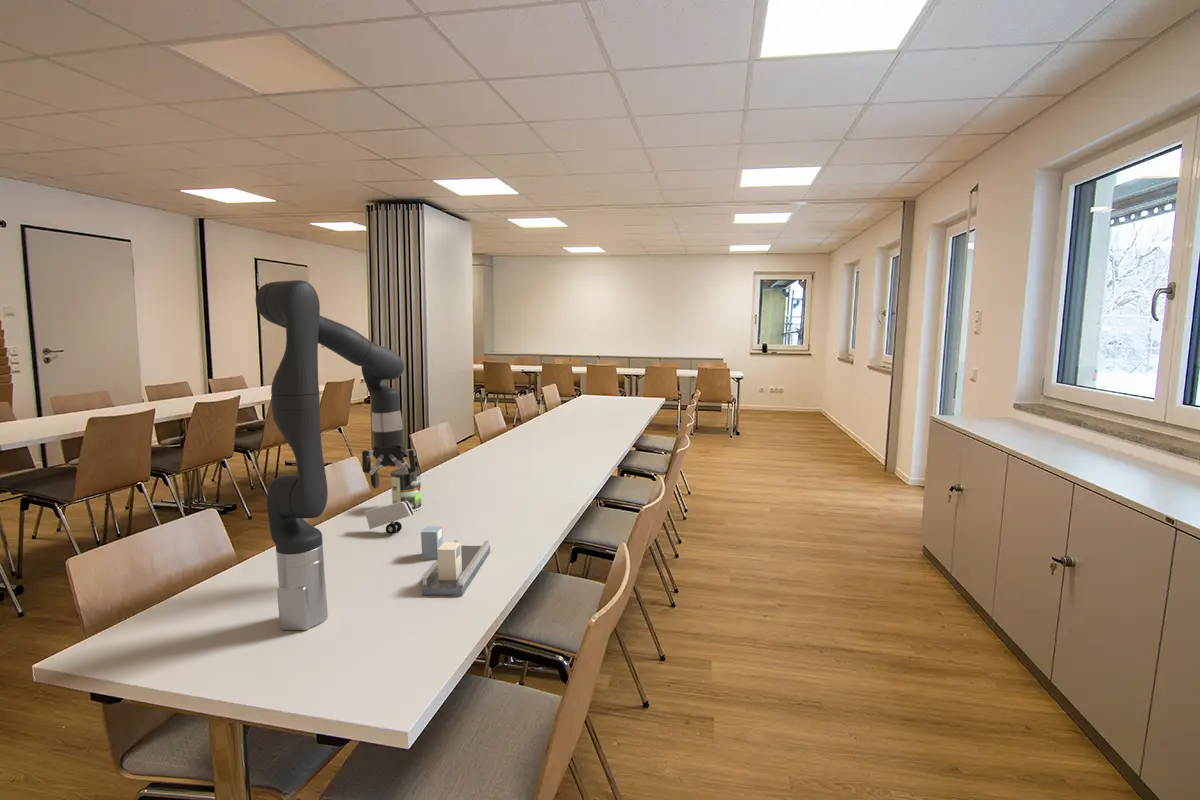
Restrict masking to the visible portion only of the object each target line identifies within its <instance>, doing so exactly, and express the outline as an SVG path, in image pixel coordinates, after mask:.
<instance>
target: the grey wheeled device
mask: <svg viewBox="0 0 1200 800" xmlns="http://www.w3.org/2000/svg"><path fill="white" fill-rule="evenodd" d="M364 514H365V518H366V520H367V521H366V522H367V524H368V527H369V530H372V529H375V528H379V527H381V526H384V525H386V526H385V532H386V533H387V534H388V535H393V534H395V533H399V532H400V531H401V530H402V527H403V525H402V523H401V522H399V521H398V520H401V519H404V518H408V517H410V516H413V515H415V514H416V513H415V511H413V509H412V507H411V505H410V503H409V502H408V501H403V502H399V503H395V504H393V503H391V504H387V505H383V506H379V507H374V508H371V509H367V510H364Z"/></svg>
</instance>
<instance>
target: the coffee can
mask: <svg viewBox="0 0 1200 800" xmlns="http://www.w3.org/2000/svg"><path fill="white" fill-rule="evenodd" d="M404 474H405V473H404V472H403V471H402V470H401V469H400V468H398V469H394V470H392V471H390V480H391V481H390V485H391V498H392V499H391V500H392V501H391V502H392V504H395V503H399V502H403V501H408V502H409V503H410V505H411V507H412V509H413V511H414V512H417V511H419V509H420V510H421V509H422V508H423V507H422V506H423V505H422V488H421V486H422V485H421V484H422V483H421V469H419V468H418V469H417V470H416V471H415V472H412V484H411V485H410V487H408V488H405V484H404ZM416 510H417V511H416Z"/></svg>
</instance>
